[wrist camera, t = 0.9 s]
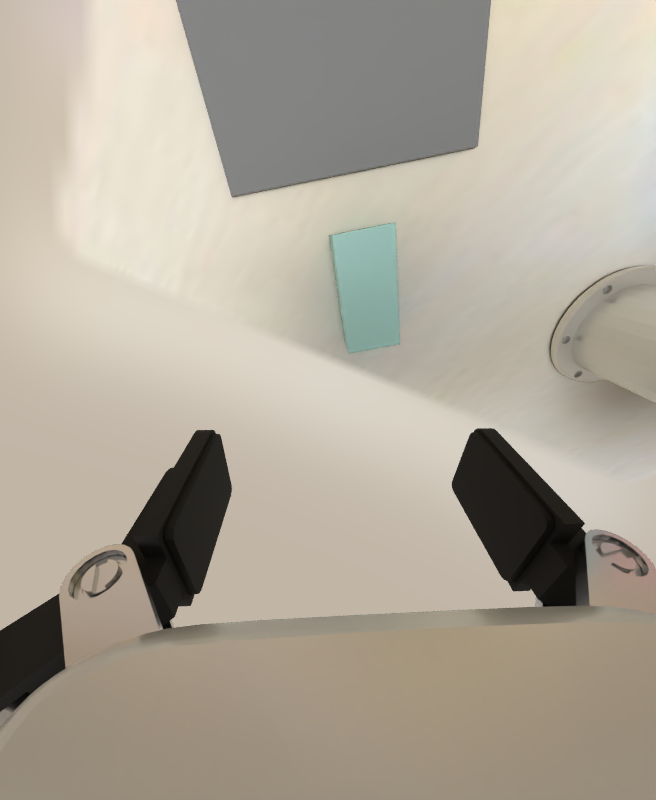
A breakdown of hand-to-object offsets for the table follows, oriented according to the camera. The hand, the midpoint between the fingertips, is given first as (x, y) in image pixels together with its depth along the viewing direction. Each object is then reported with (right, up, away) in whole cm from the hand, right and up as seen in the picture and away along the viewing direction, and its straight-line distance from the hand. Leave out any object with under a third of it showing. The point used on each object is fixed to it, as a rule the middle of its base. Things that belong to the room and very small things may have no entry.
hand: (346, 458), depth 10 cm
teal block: (+3, +13, +17) cm, 22 cm away
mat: (0, +26, +9) cm, 27 cm away
